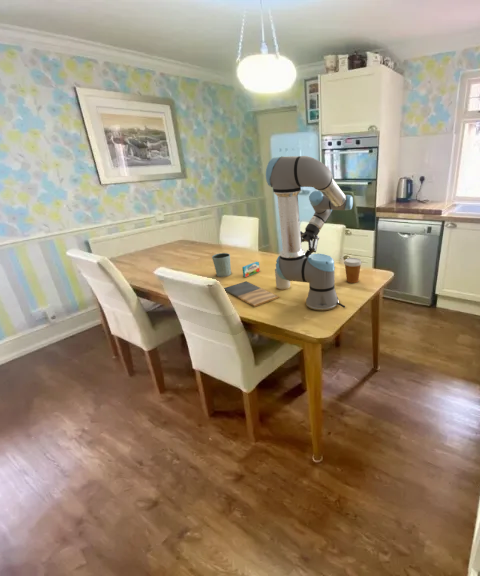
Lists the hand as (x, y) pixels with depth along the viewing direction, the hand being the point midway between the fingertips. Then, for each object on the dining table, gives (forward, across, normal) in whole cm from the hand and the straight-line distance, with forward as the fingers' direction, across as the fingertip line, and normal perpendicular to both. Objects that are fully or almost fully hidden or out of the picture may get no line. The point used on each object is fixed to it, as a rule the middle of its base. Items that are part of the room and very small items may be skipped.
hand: (294, 259), depth 171 cm
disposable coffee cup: (-7, -21, -26) cm, 34 cm away
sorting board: (+28, +6, +9) cm, 30 cm away
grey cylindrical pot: (+25, +43, +5) cm, 50 cm away
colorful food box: (+16, +31, -4) cm, 35 cm away
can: (+16, 0, -4) cm, 16 cm away
